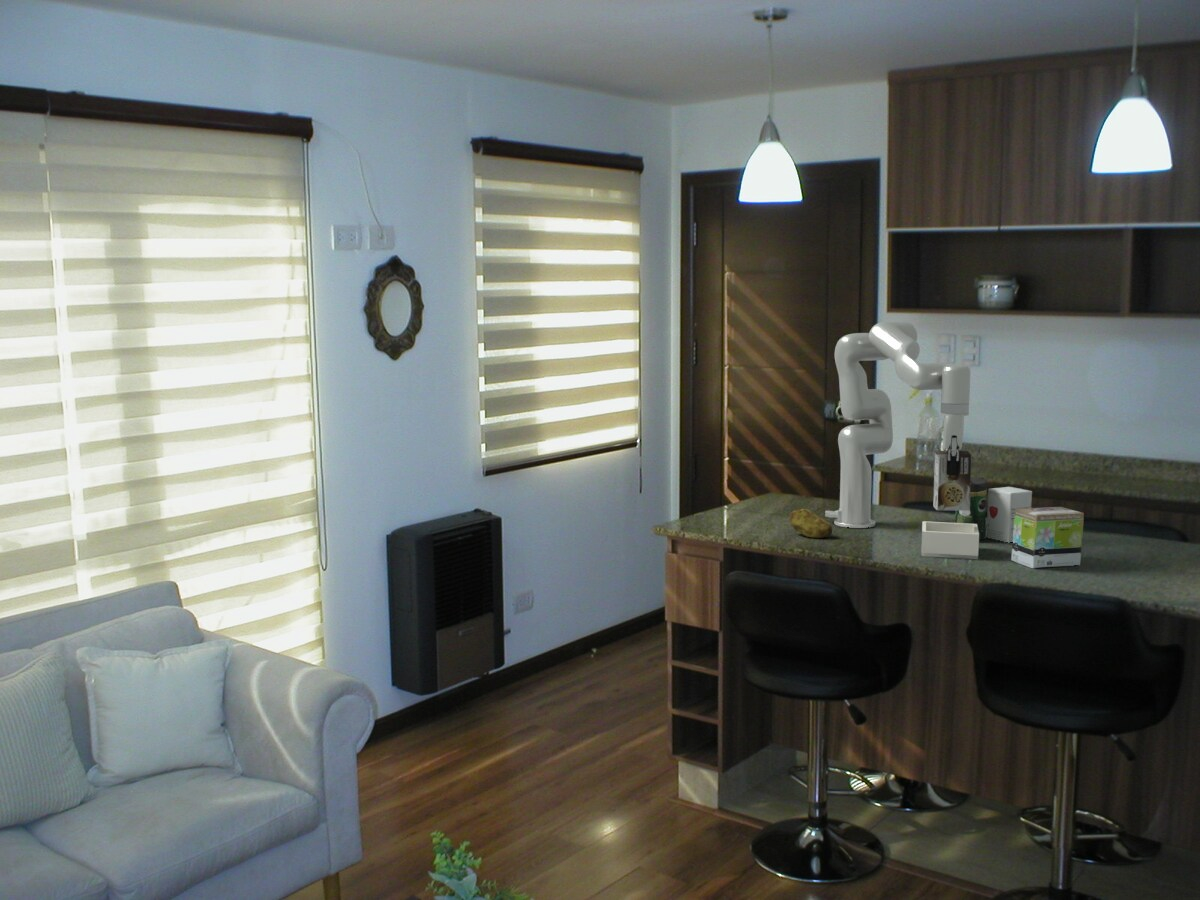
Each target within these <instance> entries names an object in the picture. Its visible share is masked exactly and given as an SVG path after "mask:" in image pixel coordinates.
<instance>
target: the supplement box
mask: <svg viewBox="0 0 1200 900" xmlns="http://www.w3.org/2000/svg"><path fill="white" fill-rule="evenodd" d="M987 492H988V495H987V514H986V516H987V517H986V537H988V538H987V539H990V538H992V539H991V540H994V539H996V540H995V541H998V540H1000V541H999V542H1001V541H1004V542H1003V543H1005V542H1008V543H1007V544H1010V543H1009V542H1013V529H1014V517H1015V509H1021V508H1032V500H1033V497H1032V496H1033V491H1032V490H1028V489H1023V488H1019V487H1018V488H1017V487H1013V486H1005V487H1004V486H1002V487H994V488H988V490H987ZM986 537H985V538H986Z"/></svg>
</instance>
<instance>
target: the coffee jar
mask: <svg viewBox="0 0 1200 900" xmlns="http://www.w3.org/2000/svg"><path fill="white" fill-rule="evenodd" d="M987 492H988V481H987V480H986V479H985V478H984V477H981V476H980V477H978V476H971V485H970V510H954V511H955V513H954V523H968V524H977V527H978V531H979V541H983V539H985V538H986V533H987V517H986V516H987V514H986V504H987V502H986V501H987Z"/></svg>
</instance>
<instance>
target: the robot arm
mask: <svg viewBox="0 0 1200 900" xmlns="http://www.w3.org/2000/svg"><path fill="white" fill-rule="evenodd" d="M920 351H921V349H920V345H919V343H918V332H917V329H916V327H915V326H914V325H913V324H912V323H910V322H909V321H882V322H878V323H875V324H874V325H873V326H872V327H871V329H870V330H869V332H855V333H849V334H845V335H843V336H842V337H841V338H839V340H837V343H836V345H835V348H834V360H835V366H836V370H837V374H838V381H839V382H838V383H839V384H838V385H839V399H840V410H841V411H840V412H841V415H842V416H843V418H845V419H846V420H849V421H865V420H866V421H867V420H868V422H869V423H864V424H863V423H862V424H861V423H860V424H859V423H858V424H851V425H847V426H845V427H844V428H843V427H842V428H841V430H840V431H839V433H838V438H837V444H838V449H839V458H840V482H839V483H840V484H839V490H840V491H839V508H838V509H837V510H834V511H833V510H825V512H824V513H825V514H824V517H825V518H826V517H828V518H835V519H834V521H833V523H834V525H835V526H838V527H842V528H847V527H849V529H867V528H868V527H869V528H873V527H875V526H876V521H875V520H874V519H872V518H871V512H872V511H871V508H872V507H871V505H872V472H873V471H872V467H871V466H872V465H871V464H870V461H869V460H868V458H867V455H877V454H878V455H879V454H880V455H881V454H885V453H887V452H888V451H889V450H890V449H891V448H892V446H893V442H894V436H893V435H894V432H893V417H892V404H891V400H890V398H889V396H888V394H887V393H886V392H885V391H884V390H881V389H877V388H871V389H870V388H869V387H868V378H867V377H868V375H867V373H866V371H865V369H864V368H863V365H861V363H860V361H863V362H865V361H868V362H869V361H884V360H885V361H886V360H889V359H890V361H892V362H893V363H894V370H895V372H896V375H897V377H898V378H899V379H900V380H901V381H903V383H905V384H906V385H907V386H909V388H910V387H911V388H912V389H914V390H917V391H933V390H936V391H937V390H941V391H940V393H941V394H940V415H941V416H944V419H943V427H942V428H943V430H942V431H943V432H942V451H948V460H947V475H959V461H958V460H959V451H962V448H963V441H964V440H963V439H964V425H965V417H966V416H967V417H968V416H969V415H970V395H971V394H970V389H971V368H970V367H969V366H968V365H964V364H953V363H950V362H925V363H924V362H923V363H921V362H918V361H917V359H918V358H919V354H920Z"/></svg>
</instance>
